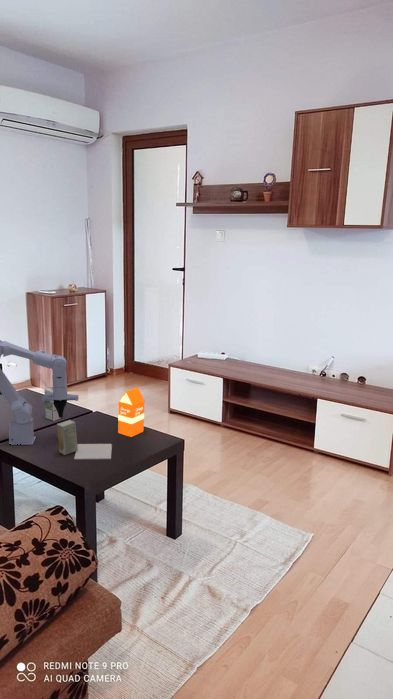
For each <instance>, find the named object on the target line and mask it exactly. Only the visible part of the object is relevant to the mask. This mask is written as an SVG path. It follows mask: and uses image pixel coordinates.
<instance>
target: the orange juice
mask: <svg viewBox="0 0 393 699" xmlns="http://www.w3.org/2000/svg"><path fill="white" fill-rule="evenodd" d="M117 420H118V424H117V428H118V429H117V433H118V434H121V435H124V436H126V437H131V438H132V437H134V436H136V435H139V434H140V433H143V432H144V428H145V427H144V426H145V425H144V422H145V399H144V397H143V395H142V393H141V390H140V389H139V387H134V388H131V389H128V390H126V391H125V392H124V394H123V395H122V397H121V398H120V400H119V401H118V416H117Z"/></svg>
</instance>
